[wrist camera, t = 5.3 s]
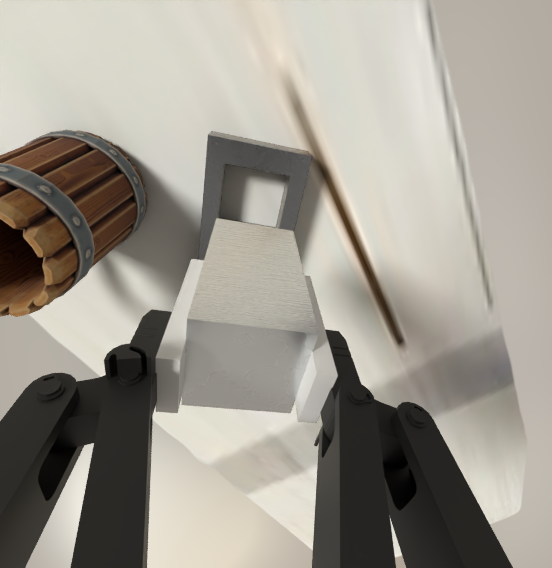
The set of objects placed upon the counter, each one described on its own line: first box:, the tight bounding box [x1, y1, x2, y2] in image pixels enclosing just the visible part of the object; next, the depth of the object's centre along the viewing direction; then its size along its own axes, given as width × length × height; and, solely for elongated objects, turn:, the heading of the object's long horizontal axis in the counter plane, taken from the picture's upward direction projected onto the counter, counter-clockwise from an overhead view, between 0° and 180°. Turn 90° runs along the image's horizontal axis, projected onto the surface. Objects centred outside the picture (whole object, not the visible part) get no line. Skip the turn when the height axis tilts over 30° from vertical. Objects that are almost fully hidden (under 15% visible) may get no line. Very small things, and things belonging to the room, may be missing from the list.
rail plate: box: [198, 131, 312, 261], centre depth 33 cm, size 22×9×3 cm, turn 169°
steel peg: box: [182, 218, 319, 413], centre depth 15 cm, size 4×4×9 cm
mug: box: [0, 130, 147, 317], centre depth 25 cm, size 16×11×15 cm
